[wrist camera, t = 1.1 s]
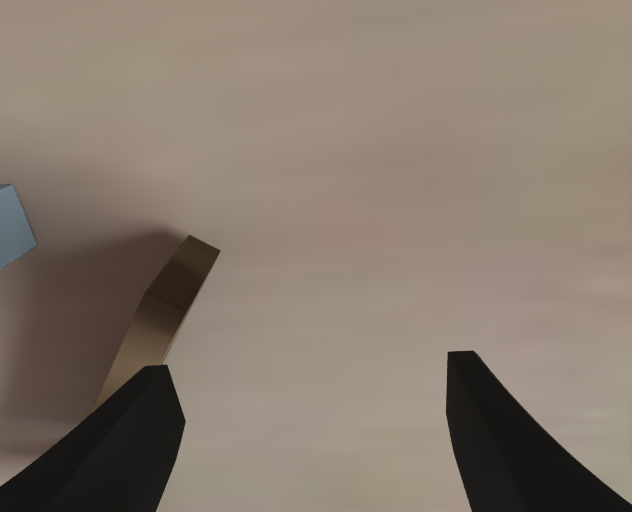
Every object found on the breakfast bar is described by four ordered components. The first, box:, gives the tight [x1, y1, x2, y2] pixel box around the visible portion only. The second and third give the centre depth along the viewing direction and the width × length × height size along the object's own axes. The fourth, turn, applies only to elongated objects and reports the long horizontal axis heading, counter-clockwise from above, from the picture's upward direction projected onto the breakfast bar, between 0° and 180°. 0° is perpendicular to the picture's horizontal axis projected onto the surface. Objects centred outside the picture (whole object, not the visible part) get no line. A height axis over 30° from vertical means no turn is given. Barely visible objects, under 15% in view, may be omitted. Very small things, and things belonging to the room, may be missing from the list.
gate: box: [90, 235, 220, 414], centre depth 21 cm, size 14×2×5 cm, turn 151°
